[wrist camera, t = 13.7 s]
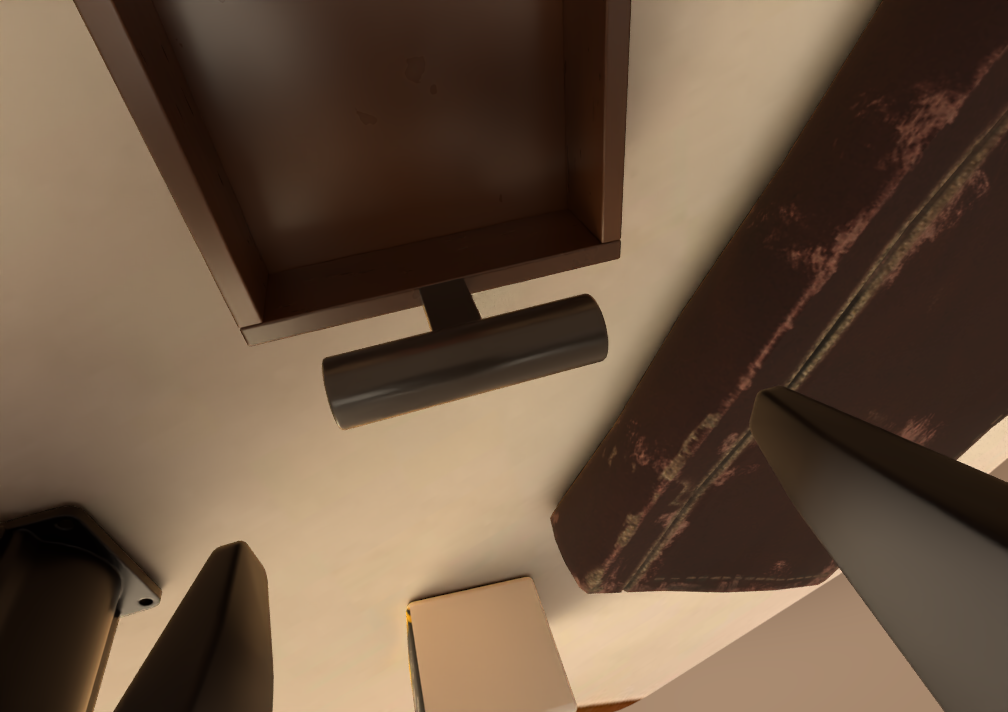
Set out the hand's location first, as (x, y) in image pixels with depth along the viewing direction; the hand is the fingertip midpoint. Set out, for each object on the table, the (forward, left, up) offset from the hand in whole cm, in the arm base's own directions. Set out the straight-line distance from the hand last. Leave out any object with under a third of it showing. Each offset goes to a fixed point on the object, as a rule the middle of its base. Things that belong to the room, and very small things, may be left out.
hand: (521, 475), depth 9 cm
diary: (-9, -17, -10) cm, 22 cm away
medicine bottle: (-24, +2, -10) cm, 26 cm away
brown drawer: (+5, 0, -10) cm, 11 cm away
